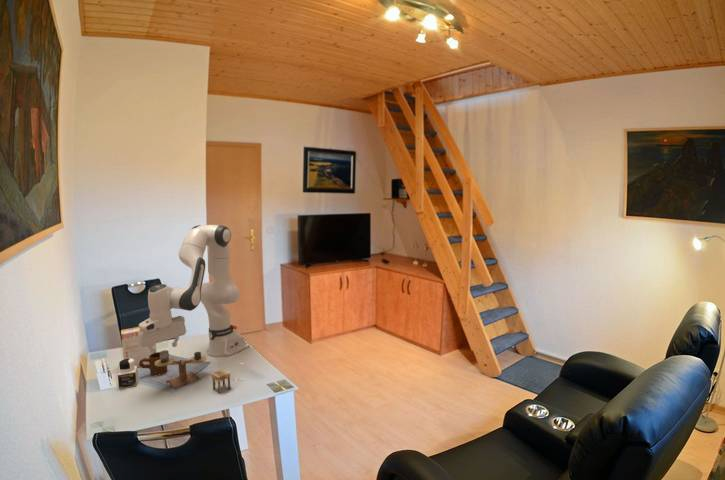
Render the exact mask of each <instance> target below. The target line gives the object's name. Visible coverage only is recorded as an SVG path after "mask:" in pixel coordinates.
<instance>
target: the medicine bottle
mask: <svg viewBox="0 0 725 480" xmlns="http://www.w3.org/2000/svg"><path fill="white" fill-rule="evenodd" d="M118 366H119V371H118V373H117V380H118V389H119V390H123V389H127V388H133V387H136V386H138V381H139V373H138V372H139V371H138V368H137V366H135V364H134V359H131V358H128V359H124V358H123V359H122V360H120V361H119V365H118Z"/></svg>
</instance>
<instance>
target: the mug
mask: <svg viewBox="0 0 725 480" xmlns="http://www.w3.org/2000/svg"><path fill="white" fill-rule="evenodd" d="M160 352H161V351H158V352H157V353H154V354H151V355H150V356H149V358H143V359H141V360H140V362H139V365H140V367H139V368H142V369H149V372H150V375H151V376H153V375H159V374H162V375H164V374H163V373H165V372H166V371H168V365H167V366H155V362H156V361H157V360H159V359H160ZM144 361H145V362H149V364H150V365H148V364H147V365H144V364H143V362H144ZM166 373H167V372H166ZM166 373H165V374H166ZM159 376H160V375H159Z"/></svg>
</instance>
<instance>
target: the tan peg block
mask: <svg viewBox="0 0 725 480" xmlns="http://www.w3.org/2000/svg"><path fill="white" fill-rule="evenodd" d="M226 380H227V390H231V372H229V371H227V370H226V369H220V370H219V371H215V372H213V373H211V381H212V390H213V391H216V381H217V390H218V391H217V392H218V394H222V390H221V381H222V386H223V387H224V386H226Z"/></svg>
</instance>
